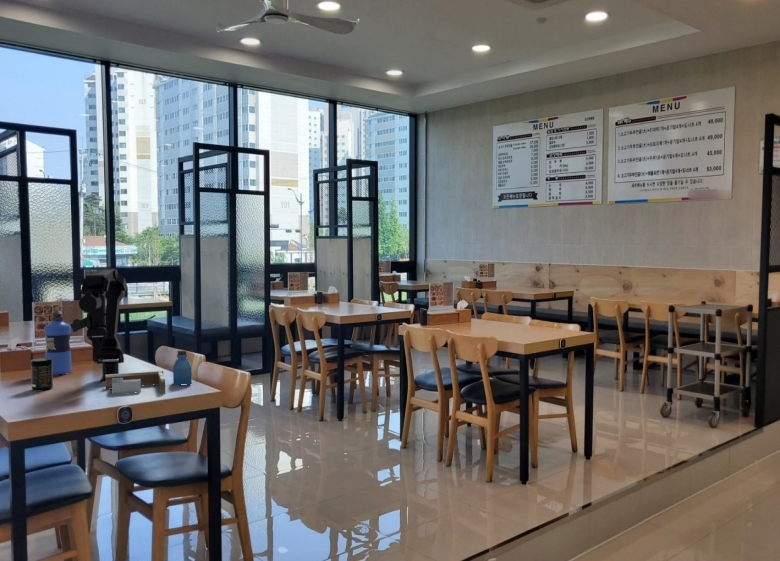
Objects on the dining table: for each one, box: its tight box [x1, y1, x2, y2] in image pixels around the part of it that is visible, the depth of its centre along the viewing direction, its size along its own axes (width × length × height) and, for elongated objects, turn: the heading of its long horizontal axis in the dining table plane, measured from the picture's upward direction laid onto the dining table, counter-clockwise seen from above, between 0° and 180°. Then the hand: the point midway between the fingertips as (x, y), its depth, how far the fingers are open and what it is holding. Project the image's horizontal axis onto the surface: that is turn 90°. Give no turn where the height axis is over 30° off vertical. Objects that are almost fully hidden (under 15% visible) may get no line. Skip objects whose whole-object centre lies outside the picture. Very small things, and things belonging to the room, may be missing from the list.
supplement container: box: [30, 357, 54, 391], centre depth 227 cm, size 7×7×10 cm
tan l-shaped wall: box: [105, 370, 166, 394], centre depth 223 cm, size 18×19×5 cm
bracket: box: [111, 378, 142, 396], centre depth 222 cm, size 9×9×4 cm
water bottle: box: [43, 310, 72, 376], centre depth 257 cm, size 9×9×25 cm
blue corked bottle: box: [172, 350, 192, 385], centre depth 235 cm, size 6×6×12 cm
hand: (97, 354), depth 228 cm, fingers open, 9 cm apart
